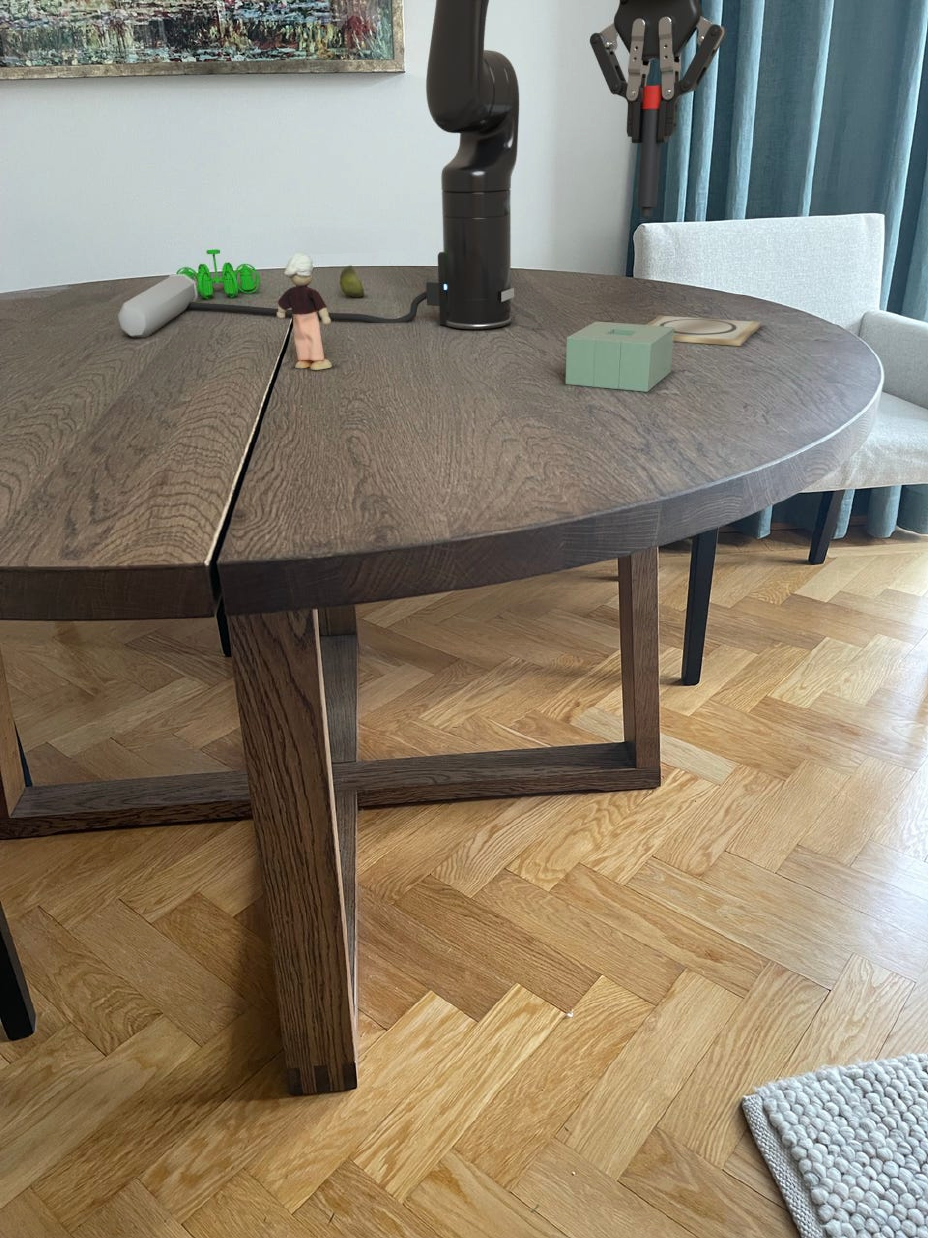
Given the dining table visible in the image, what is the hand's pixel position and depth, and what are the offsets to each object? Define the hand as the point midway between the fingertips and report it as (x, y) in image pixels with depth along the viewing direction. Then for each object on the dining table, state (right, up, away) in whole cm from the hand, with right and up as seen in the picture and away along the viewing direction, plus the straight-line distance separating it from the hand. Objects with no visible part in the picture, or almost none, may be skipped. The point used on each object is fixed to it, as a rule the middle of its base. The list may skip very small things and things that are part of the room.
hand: (650, 141), depth 95 cm
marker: (0, -6, +3) cm, 7 cm away
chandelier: (-61, +7, +66) cm, 90 cm away
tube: (-64, -5, +43) cm, 77 cm away
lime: (-37, +4, +59) cm, 70 cm away
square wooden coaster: (+12, -11, +29) cm, 33 cm away
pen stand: (-2, -22, +8) cm, 24 cm away
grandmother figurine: (-38, -19, +17) cm, 45 cm away
